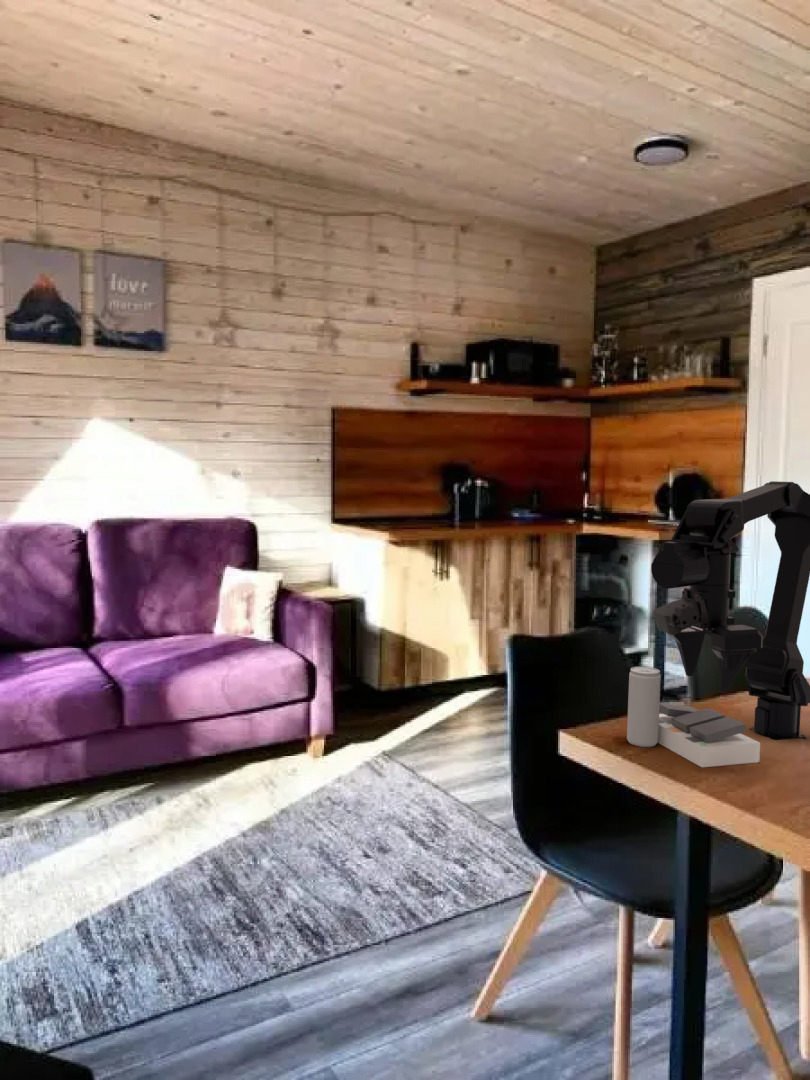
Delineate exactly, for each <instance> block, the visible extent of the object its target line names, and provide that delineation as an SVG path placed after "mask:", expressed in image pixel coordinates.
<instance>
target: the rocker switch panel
mask: <svg viewBox="0 0 810 1080" xmlns="http://www.w3.org/2000/svg"><path fill="white" fill-rule="evenodd" d="M671 718H673V717H671V716H667V715H665V714H663V713H659V728H658V743H657V744H660V745H661V746H663V747H665V748H667V749H668V750H669V751H672V752H674V753H675V754H677V755H679V756H681V757H683V758H685V760H688V762H689V761H690V762H691V763H693V764H695V765H697V766H699V767H701V768H709V767H721V766H723V767H724V766H733V765H743V764H744V765H745V764H754V763H755V764H756V763H760V761H761V760H760V756H761V742H759V741H758V740H755V739H753V738H751V737H749V736H747V735H745V734H743V733H740V734H736V735H732V736H729V737H725V738H722V739H718V740H714V741H711V742H707V743H706V742H704V741H702V740H700V739H698V738H696V737H694V736H692V735H691V733H690V732H688V733H686V732H685V731H683V730H681V729H679V728H677V727H675V726H673V725H672V719H671Z"/></svg>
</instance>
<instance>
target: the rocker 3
mask: <svg viewBox="0 0 810 1080" xmlns="http://www.w3.org/2000/svg"><path fill="white" fill-rule="evenodd" d="M690 733H691V735H692V736H694V737H696V738H698V739H700V740H702V741H704V742H706V743H707V742H711V741H714V740H718V739H722V738H725V737H729V736H732V735H736V734H743V733H747V727H746V724H745V722H744V723H743V721H739V720H737V719H736V718H735V719H734V718H733V717H731V716H727V717H726V716H725V718H722V719H718V720H715V721H711V722H707V723H704V724H700V725H696V726H693V727H690Z"/></svg>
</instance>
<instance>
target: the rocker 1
mask: <svg viewBox="0 0 810 1080" xmlns="http://www.w3.org/2000/svg"><path fill="white" fill-rule="evenodd" d="M696 711H700V709H697V708H695V707H692V706H689V705H680V704H674V703H673V704H671V703H665V702H660V704H659V713H660V714H665V715H667V716H671V717H677V716H681V715H685V714H688V713H692V712H696Z"/></svg>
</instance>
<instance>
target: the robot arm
mask: <svg viewBox="0 0 810 1080" xmlns="http://www.w3.org/2000/svg"><path fill="white" fill-rule="evenodd" d="M686 507H687V508H686V509H685V511H684V513H683V515H682V517H681V519H680V521H679V523H678V526H677V527H676V530H675V532H674V533H673V536H672V537H671V539H670V541H664V542H663V545H662V547H663V548H662V550H661V551H659V552H657V554H656V555H655V556H654V558H653V560H652V563H651V564H650V565H651V566H650V567H651V568H650V570H651V574H652V578H653V579H654V581H655V583H656V584H657V585H658V586H660V587H661V588H663V589H667V590H669V589H678V588H683V590H682V591H681V598H680V599H677V600H674V601H670V602H669V603H666V604H664V605H662V606H659V607H658V608H655V609H654V610H652V614H653V616H654V617H653V619H654V620H655V623H656V628H657V630H658V632H664V633H665V634H667V635H668V636H670V637H671V638H672V640H674V642H675V644H676V647H677V648H678V652H679V656H680V658H681V662H682V665H683V670H684V672H685V676H687V677H693V676H694V675H695V672H696V669H697V666H698V663H699V658H700V655H701V650H702V647H703V643H704V639H705V635H709V636H710V641H711V642H712V645H713V646H710V647H709V648H710V649H711V651H712V652H713V653H714V654H715V656H717V660H718V662H717V663H718V664H717V665H718V681H719V687H720V688H719V689H720V691H721V692H728V691H729V690H730V689H731V687H732V686H733V683H734V681H735V679H736V678H737V676H738V674H739V673H740V671H741V669H742V667H743V666H744V668H745V670H744V675H745V680H746V686H747V690H748V692H747V693H748V696H751V697H757V699H756V700H757V701H756V702H757V703H756V707H755V708H754V724H753V726H752V727H749V729H750V730H751V731H753V732H755V733H758V734H760V735H762V736H764V737H767V738H769V739H771V740H772V741H773V740H774V741H779V740H792V739H803V740H806V739H807V735H805V734H803V733H801V732H800V731H801V729H800V727H801V712H802V710H801V708H802V707H808V705H809V704H810V683H809V682H808V680H807V678H806V677H805V675H804V658H803V656H802V654H801V651H800V649H799V646H798V644H797V643H798V639H799V638H798V637H799V632H800V627H801V621H802V617H803V612H804V607H805V601H806V595H807V592H808V585H809V580H810V494H809V493H808V492H806V491H805V490H803V488H802V487H801V486H800V485H799V484H798V483H795V482H794V481H778V480H777V481H772V480H771V481H769V482H766V483H764V484H763V485H761V486H758V487H756V488H753V489H750V490H746V491H745V492H742V493H739V494H736V495H734V496H730V497H727V498H711V499H710V498H709V499H706V498H705V499H695V500H693V501H691V502H689V504H688V505H687V506H686ZM766 515H767V518H768V519H769V520H770V521H771V523H772V524H773V525H774V539H775V540H776V543H777V546H778V548H779V551H780V558H779V563H778V569H777V573H776V578H775V584H774V589H773V594H772V600H771V604H770V608H769V614H768V619H767V624H766V629H765V634H764V635H763V634H762V633H761V631H760V630H759V629H758V628H756V627H752V626H748V625H745V624H735V617H733V616H729V614H730V613H729V612H730V611H729V610H730V599H735V598H736V590H733V589H730V582H731V555H732V554H731V553H738V552H739V547H738V546H737V544H735V543H734V542H733V541H732V539H734V537H736V536H737V535H738V534H740V533H741V532H743V531H744V529H745V525H746V524H747V523H749V522H751V521H754V520H756V519H758V518H762V517H763V516H766ZM763 636H764V637H763Z"/></svg>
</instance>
